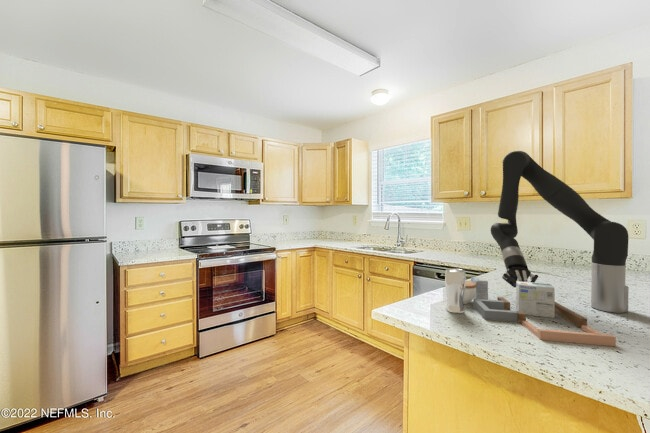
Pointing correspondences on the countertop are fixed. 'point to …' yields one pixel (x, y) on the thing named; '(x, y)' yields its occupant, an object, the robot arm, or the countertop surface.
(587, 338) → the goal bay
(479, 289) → the medicine box
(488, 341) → the countertop surface
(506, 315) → the frame
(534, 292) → the light bulb box
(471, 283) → the lidded jar
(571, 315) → the open corridor
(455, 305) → the silver metal can
